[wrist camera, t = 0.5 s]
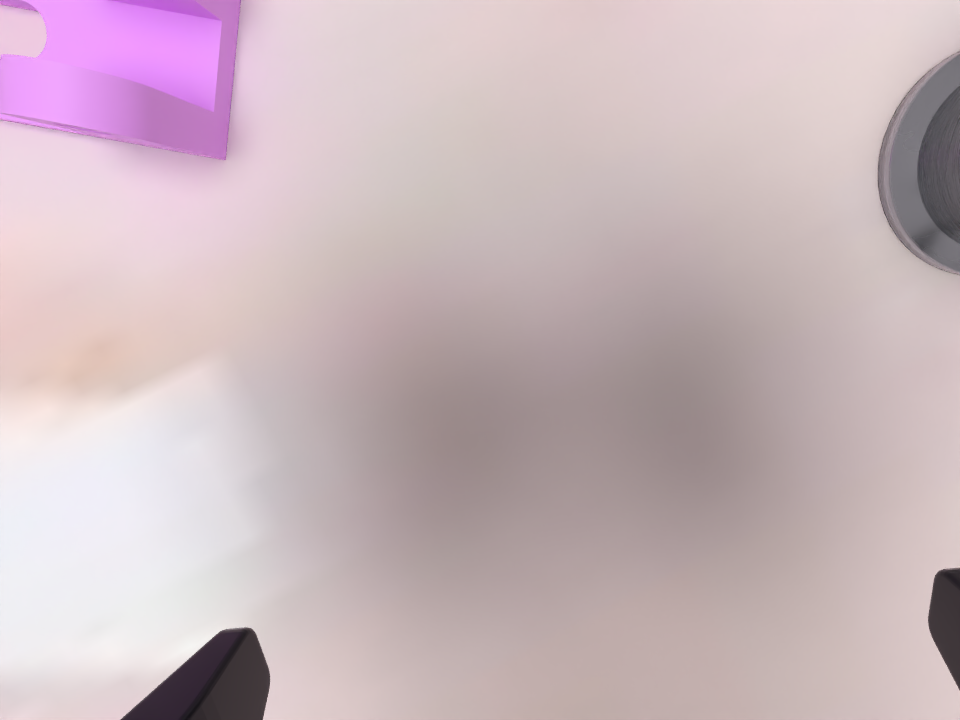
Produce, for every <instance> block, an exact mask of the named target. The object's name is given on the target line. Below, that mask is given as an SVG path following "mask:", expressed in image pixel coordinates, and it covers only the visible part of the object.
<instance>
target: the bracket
mask: <svg viewBox="0 0 960 720" xmlns="http://www.w3.org/2000/svg"><path fill="white" fill-rule="evenodd" d="M240 3H241V0H0V4H1V5H7V6H12V7H18V8H23V9H29V10H34V11H38V12H39V13H40V14H41V16H42V18H43V20H44V22H45V25H46V30H47V40H46V44H45V47H44V49H43V51H42V52H41V54H40V55H39V56H38V57H36V58H32V57H26V56H19V55H9V54H3V55H1V59H0V120H6V121H11V122H17V123H22V124H28V125H33V126H39V127H44V128H50V129H56V130H61V131H67V132H72V133H78V134H83V135H89V136H94V137H100V138H105V139H111V140H116V141H122V142H127V143H133V144H139V145H144V146H150V147H155V148H161V149H166V150H172V151H177V152H183V153H188V154H194V155H199V156H205V157H210V158H216V159H222V160H226V150H227V139H228V129H229V118H230V108H231V97H232V87H233V76H234V66H235V55H236V45H237V34H238V24H239V13H240Z"/></svg>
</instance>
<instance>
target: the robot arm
mask: <svg viewBox="0 0 960 720" xmlns="http://www.w3.org/2000/svg"><path fill="white" fill-rule="evenodd" d="M928 623H929V629H930V633H931V635H932V638H933V640H934V642H935V644H936V646H937V648H938V650H939V652H940V654H941V655H942V657H943V659H944V661H945V663H946V665H947V667H948V669H949V671H950V673H951V675H952V676H953V678H954V680H955V682H956V684H957V686H958V688H959V690H960V568H951V569H943V570H940V571H938V572H937V574H936V575H935V578H934V583H933V590H932V596H931V603H930V609H929V616H928ZM269 687H270V673H269V668H268V665H267V663H266V660H265V657H264V654H263V652H262V649H261V646H260V643H259V641H258V638H257V635H256V633H255V632H254V631H253V630H252V629H251V628H234V629H226V630H222V631H220V632H219V633H218V634H216V635H215V636H214V637H213V638H212V639H211V640H210V641H209V642H207V643H206V644H205V645H204V646H203V647H202V648H201V649H200V650H198V651H197V652H196V653H195V654H194V655H193V656H192V657H191V658H189V659H188V660H187V661H186V662H185V663H184V664H183V665H181V666H180V667H179V668H178V669H177V670H176V671H175V672H174V673H172V674H171V675H170V676H169V677H168V678H167V679H166V680H165V681H163V682H162V683H161V684H160V685H159V686H158V687H157V688H156V689H154V690H153V691H152V692H151V693H150V694H149V695H148V696H147V697H145V698H144V699H143V700H142V701H141V702H140V703H139V704H138V705H136V706H135V707H134V708H133V709H132V710H131V711H130V712H129V713H127V714H126V715H125V716H124V717H123V718H122V719H121V720H263V716H264V711H265V706H266V702H267V697H268V692H269Z"/></svg>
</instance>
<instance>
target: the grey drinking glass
mask: <svg viewBox="0 0 960 720" xmlns="http://www.w3.org/2000/svg"><path fill="white" fill-rule="evenodd" d="M878 185H879V192H880V199H881V202H882V206H883V209H884V213H885V215H886V217H887V219H888V222H889V224H890V226H891V227H892V229H893V231H894V232H895V234H896V235H897V237H898V238H899V239H900V240H901V242H902V243H903V244H904V245H905V246H906V247H907V248H908V249H909V250H910V251H911V252H913V253H914V254H915V255H916V256H917V257H919V258H920V259H922V260H923V261H925V262H927V263H928V264H930V265H932V266H935V267H937V268H939V269H941V270H945V271H948V272H952V273H955V274H960V52H958V53H956V54H954V55H952V56H951V57H949V58H947V59H945V60H944V61H942V62H941V63H939V64H938V65H937V66H935V67H934V68H933V69H931V70H930V71H929V72H928V73H927V74H926V75H924V76H923V77H922V78H921V79H920V80H919V81H918V82H917V83H916V84H915V85H914V87H913V88H912V89H911V90H910V91H909V92H908V94H907V95H906V96H905V98H904V99H903V101H902V102H901V104H900V105H899V107H898V108H897V110H896V112H895V114H894V115H893V117H892V119H891V121H890V123H889V126H888V128H887V131H886V134H885V136H884V139H883V143H882V147H881V152H880V158H879V166H878Z"/></svg>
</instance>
